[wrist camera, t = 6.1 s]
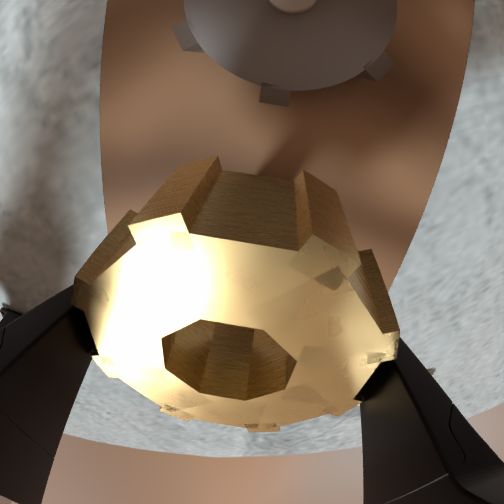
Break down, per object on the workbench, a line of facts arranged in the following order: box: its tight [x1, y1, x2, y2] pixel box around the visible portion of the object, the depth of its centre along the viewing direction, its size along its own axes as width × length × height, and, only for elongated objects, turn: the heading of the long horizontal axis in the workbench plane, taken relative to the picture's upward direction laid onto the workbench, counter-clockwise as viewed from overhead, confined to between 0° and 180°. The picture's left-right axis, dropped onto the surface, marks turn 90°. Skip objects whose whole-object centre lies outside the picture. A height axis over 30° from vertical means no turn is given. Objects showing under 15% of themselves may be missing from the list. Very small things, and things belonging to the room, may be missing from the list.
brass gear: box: [71, 156, 400, 432], centre depth 8 cm, size 8×8×3 cm
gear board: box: [100, 0, 475, 292], centre depth 14 cm, size 28×16×6 cm, turn 172°
